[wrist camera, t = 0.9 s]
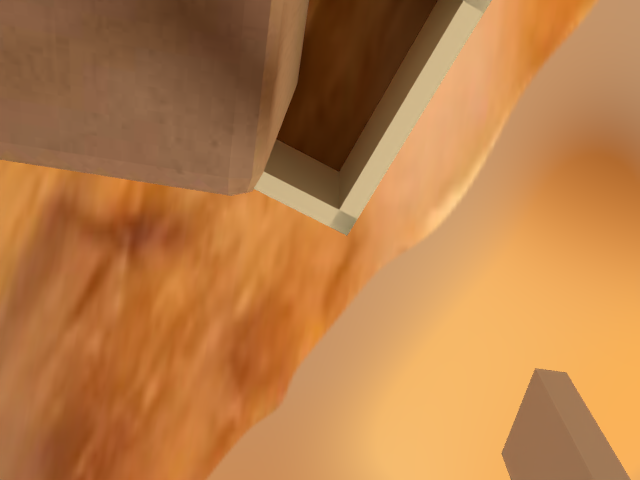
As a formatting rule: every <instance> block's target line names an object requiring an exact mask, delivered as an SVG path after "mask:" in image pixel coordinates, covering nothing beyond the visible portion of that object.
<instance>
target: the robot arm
mask: <svg viewBox="0 0 640 480" xmlns="http://www.w3.org/2000/svg"><path fill="white" fill-rule="evenodd" d="M502 456H503V459H504V462H505V464H506V467H507V470H508V472H509V475H510V478H511V480H630V478H629V476H628V475H627V473H626V471H625V470H624V468H623V466H622V465H621V463H620V461H619V460H618V458H617V456H616V455H615V453H614V451H613V450H612V448H611V446H610V445H609V443H608V441H607V440H606V438H605V436H604V435H603V433H602V431H601V430H600V428H599V426H598V425H597V423H596V421H595V419H594V418H593V417H592V415H591V413H590V411H589V409H588V408H587V406H586V404H585V403H584V401H583V399H582V398H581V396H580V394H579V393H578V391H577V389H576V388H575V386H574V384H573V383H572V381H571V379H570V378H569V376H568V374H567V373H565V372H558V371H551V370H543V369H535V370H534V373H533V375H532V378H531V380H530V383H529V385H528V388H527V390H526V393H525V395H524V398H523V400H522V403H521V406H520V408H519V411H518V413H517V416H516V418H515V421H514V423H513V426H512V428H511V431H510V434H509V436H508V438H507V441H506V443H505V446H504V448H503V451H502Z"/></svg>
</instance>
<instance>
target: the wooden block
mask: <svg viewBox="0 0 640 480" xmlns="http://www.w3.org/2000/svg"><path fill="white" fill-rule="evenodd" d="M308 4H309V0H0V160H7V161H13V162H19V163H26V164H32V165H38V166H45V167H51V168H58V169H64V170H70V171H77V172H83V173H89V174H96V175H102V176H108V177H115V178H121V179H127V180H134V181H140V182H147V183H153V184H159V185H166V186H172V187H178V188H185V189H191V190H197V191H204V192H210V193H216V194H223V195H229V196H232V195H237V194H242V193H248V192H251V191H253V189H254V187H255V186H256V184H257V182H258V181H259V179H260V177H261V176H262V174H263V172H264V169H265V167H266V164H267V161H268V159H269V156H270V154H271V151H272V148H273V146H274V143H275V141H276V138H277V135H278V133H279V130H280V127H281V125H282V122H283V120H284V117H285V114H286V112H287V109H288V107H289V104H290V101H291V99H292V96H293V94H294V91H295V88H296V86H297V83H298V77H299V69H300V62H301V55H302V48H303V40H304V33H305V26H306V18H307V11H308Z"/></svg>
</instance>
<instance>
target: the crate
mask: <svg viewBox="0 0 640 480" xmlns="http://www.w3.org/2000/svg"><path fill="white" fill-rule="evenodd" d="M491 1H492V0H438V1H437V2H436V4H435V6H434V8H433V9H432V11H431V13H430V15H429V16H428V18H427V20H426V22H425V23H424V25H423V27H422V29H421V30H420V32H419V34H418V35H417V37H416V39H415V41H414V42H413V44H412V46H411V48H410V49H409V51H408V53H407V55H406V56H405V58H404V60H403V62H402V63H401V65H400V67H399V69H398V70H397V72H396V74H395V75H394V77H393V79H392V81H391V82H390V84H389V86H388V88H387V89H386V91H385V93H384V95H383V96H382V98H381V100H380V102H379V103H378V105H377V107H376V108H375V110H374V112H373V114H372V115H371V117H370V119H369V121H368V122H367V124H366V126H365V128H364V129H363V131H362V133H361V135H360V136H359V138H358V140H357V142H356V143H355V145H354V147H353V148H352V150H351V152H350V154H349V155H348V157H347V159H346V161H345V162H344V164H343V166H342V168H341V169H340V171H339V172H338V171H336V170H335V169H333V168H331V167H329V166H327V165H325V164H323V163H321V162H319V161H317V160H315V159H314V158H312V157H310V156H308V155H306V154H304V153H302V152H300V151H298V150H296V149H294V148H293V147H291V146H289V145H287V144H285V143H283V142H281V141H279V140H277V139H276V141H275V143H274V146H273V148H272V151H271V154H270V156H269V159H268V161H267V164H266V167H265V169H264V172H263V174H262V176H261V177H260V179H259V181H258V182H257V184H256V186H255V187H254V189H255V190H257V191H259V192H261V193H263V194H265V195H267V196H269V197H271V198H273V199H275V200H277V201H279V202H281V203H283V204H285V205H287V206H289V207H291V208H293V209H295V210H297V211H299V212H301V213H303V214H305V215H307V216H309V217H311V218H313V219H315V220H317V221H319V222H321V223H323V224H325V225H327V226H329V227H331V228H333V229H335V230H337V231H339V232H341V233H343V234H345V235H348V234H349V232H350V230H351V229H352V227H353V225H354V224H355V222H356V220H357V219H358V217H359V216H360V214H361V212H362V211H363V209H364V207H365V206H366V204H367V203H368V201H369V199H370V198H371V196H372V194H373V193H374V191H375V190H376V188H377V186H378V185H379V183H380V181H381V180H382V178H383V177H384V175H385V173H386V172H387V170H388V168H389V167H390V165H391V163H392V162H393V160H394V159H395V157H396V155H397V154H398V152H399V150H400V149H401V147H402V146H403V144H404V142H405V141H406V139H407V137H408V136H409V134H410V133H411V131H412V129H413V128H414V126H415V124H416V123H417V121H418V120H419V118H420V116H421V115H422V113H423V111H424V110H425V108H426V107H427V105H428V103H429V102H430V100H431V98H432V97H433V95H434V93H435V92H436V90H437V89H438V87H439V85H440V84H441V82H442V80H443V79H444V77H445V76H446V74H447V72H448V71H449V69H450V67H451V66H452V64H453V63H454V61H455V59H456V58H457V56H458V54H459V53H460V51H461V50H462V48H463V46H464V45H465V43H466V41H467V40H468V38H469V36H470V35H471V33H472V32H473V30H474V28H475V27H476V25H477V23H478V22H479V20H480V19H481V17H482V15H483V14H484V12H485V10H486V9H487V7H488V6H489V4H490V2H491Z"/></svg>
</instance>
